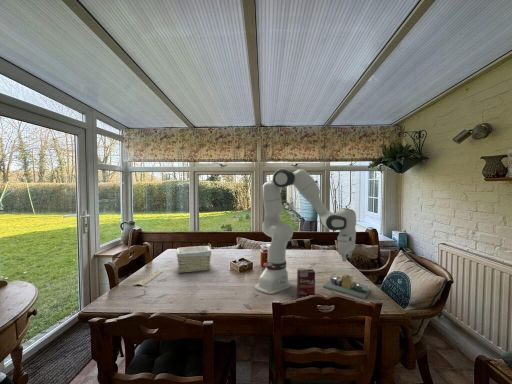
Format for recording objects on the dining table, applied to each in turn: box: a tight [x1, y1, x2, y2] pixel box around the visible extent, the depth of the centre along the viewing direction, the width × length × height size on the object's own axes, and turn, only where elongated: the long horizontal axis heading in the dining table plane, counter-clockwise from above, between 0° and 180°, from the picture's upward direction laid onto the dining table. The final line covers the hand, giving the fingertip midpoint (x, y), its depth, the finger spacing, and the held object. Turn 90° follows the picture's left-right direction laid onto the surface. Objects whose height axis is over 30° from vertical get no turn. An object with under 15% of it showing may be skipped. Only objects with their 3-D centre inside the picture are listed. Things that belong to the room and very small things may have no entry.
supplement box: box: [296, 268, 316, 299], centre depth 123 cm, size 9×5×16 cm, turn 93°
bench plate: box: [322, 279, 371, 300], centre depth 137 cm, size 13×23×1 cm, turn 51°
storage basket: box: [176, 245, 212, 274], centre depth 170 cm, size 24×16×15 cm
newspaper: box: [133, 269, 164, 287], centre depth 153 cm, size 24×7×2 cm, turn 173°
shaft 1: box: [329, 275, 342, 286], centre depth 143 cm, size 8×5×4 cm, turn 26°
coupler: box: [341, 273, 354, 290], centre depth 137 cm, size 5×4×7 cm
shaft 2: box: [352, 281, 369, 293], centre depth 133 cm, size 8×5×4 cm, turn 51°
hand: (346, 259), depth 137 cm, fingers open, 8 cm apart
